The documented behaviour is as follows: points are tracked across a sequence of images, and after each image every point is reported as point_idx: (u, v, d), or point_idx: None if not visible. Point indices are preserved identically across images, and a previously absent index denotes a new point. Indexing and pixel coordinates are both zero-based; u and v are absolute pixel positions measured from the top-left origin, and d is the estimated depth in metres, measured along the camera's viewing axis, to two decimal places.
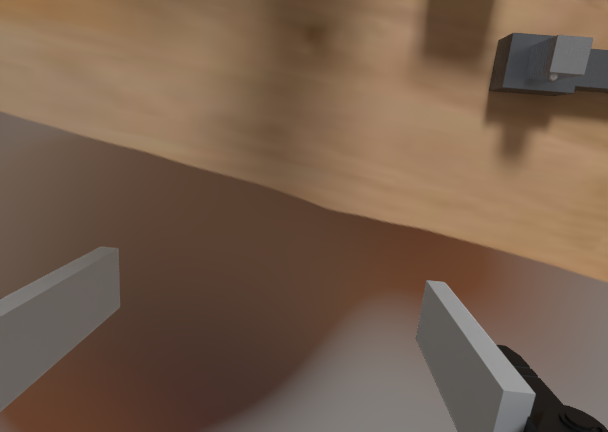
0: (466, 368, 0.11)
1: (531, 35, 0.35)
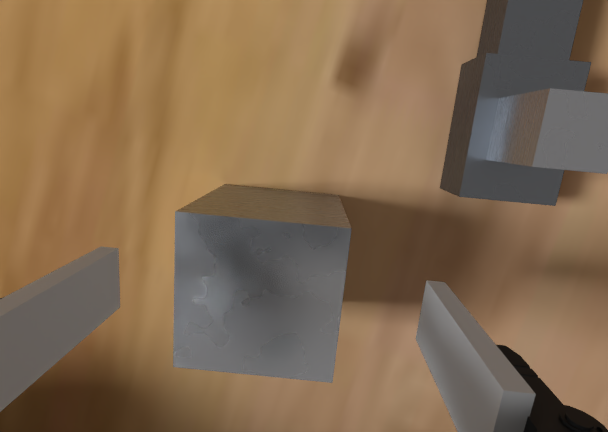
0: (466, 368, 0.11)
1: (467, 163, 0.19)
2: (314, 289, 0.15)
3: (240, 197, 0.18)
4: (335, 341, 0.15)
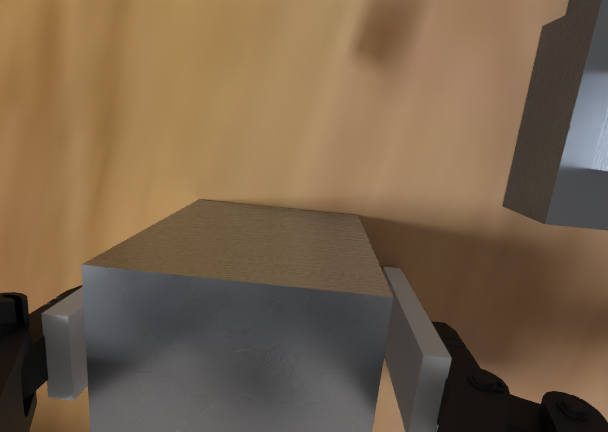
0: (403, 341, 0.12)
1: (561, 173, 0.12)
2: (326, 396, 0.09)
3: (213, 225, 0.12)
4: None
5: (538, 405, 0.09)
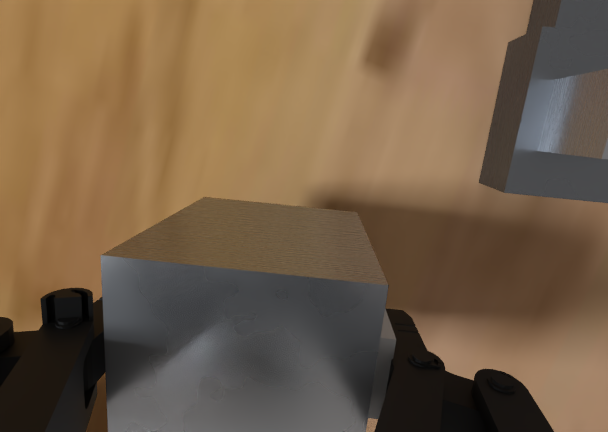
0: None
1: (515, 154, 0.16)
2: (327, 377, 0.09)
3: (219, 220, 0.13)
4: None
5: (471, 383, 0.10)
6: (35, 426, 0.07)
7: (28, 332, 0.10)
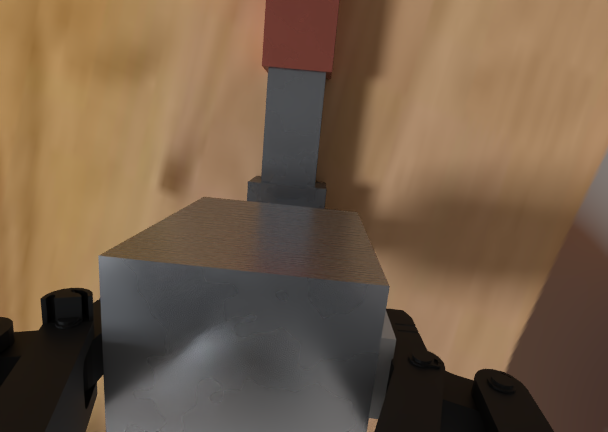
0: None
1: None
2: (327, 379, 0.09)
3: (218, 220, 0.13)
4: None
5: (471, 383, 0.10)
6: (36, 425, 0.07)
7: (28, 332, 0.10)
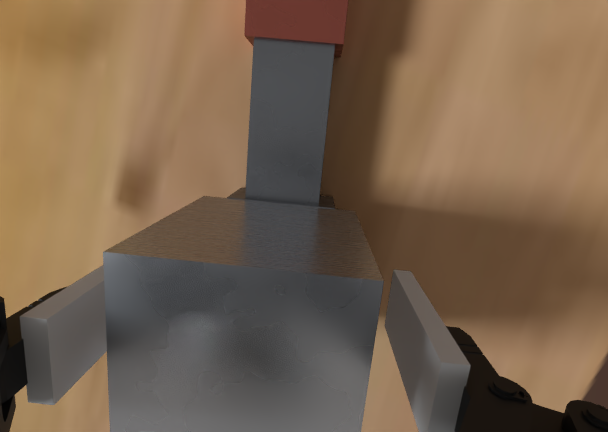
0: (418, 346, 0.11)
1: None
2: (323, 371, 0.10)
3: (218, 218, 0.13)
4: None
5: (561, 414, 0.09)
6: None
7: None
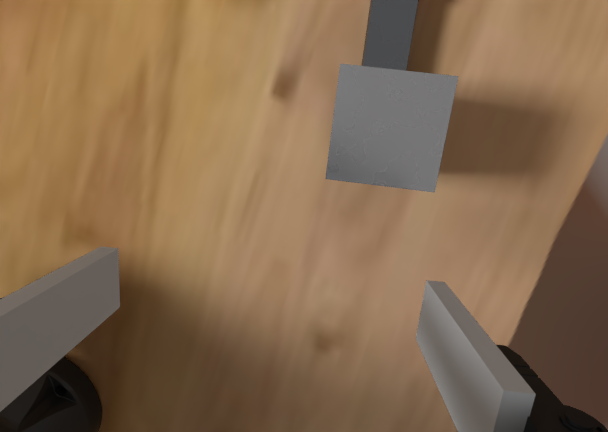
0: (466, 368, 0.11)
1: None
2: (429, 121, 0.22)
3: None
4: (439, 160, 0.23)
5: None
6: None
7: None
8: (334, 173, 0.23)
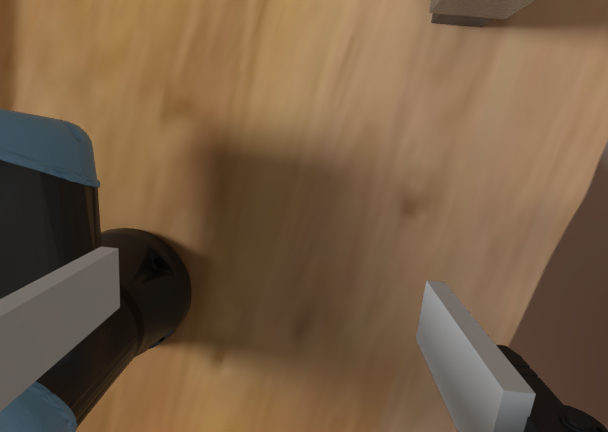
0: (466, 368, 0.11)
1: None
2: None
3: None
4: None
5: None
6: None
7: None
8: None
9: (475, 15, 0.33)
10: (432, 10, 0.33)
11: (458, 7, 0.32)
